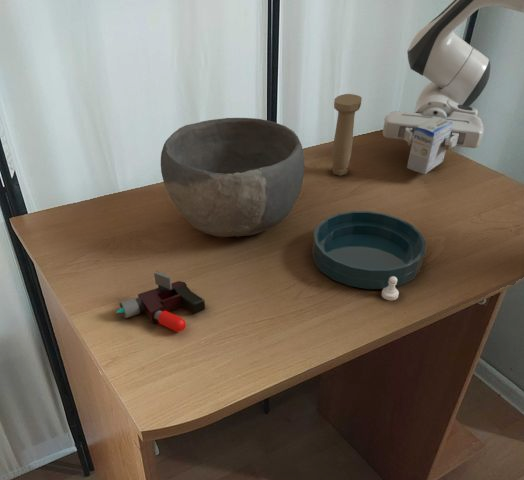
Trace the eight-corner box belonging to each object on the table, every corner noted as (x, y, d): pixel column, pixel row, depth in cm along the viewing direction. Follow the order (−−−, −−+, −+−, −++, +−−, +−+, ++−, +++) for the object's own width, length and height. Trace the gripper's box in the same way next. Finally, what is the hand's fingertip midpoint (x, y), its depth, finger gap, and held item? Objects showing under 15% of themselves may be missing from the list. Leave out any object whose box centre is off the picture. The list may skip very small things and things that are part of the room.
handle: (355, 170, 115) (366, 96, 105) (343, 181, 111) (352, 106, 101) (335, 164, 117) (343, 92, 107) (322, 176, 113) (329, 101, 103)
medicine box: (424, 156, 115) (434, 115, 110) (443, 162, 113) (454, 121, 107) (406, 168, 111) (414, 126, 105) (425, 175, 109) (435, 132, 103)
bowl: (173, 265, 88) (162, 179, 78) (163, 196, 106) (154, 118, 95) (316, 251, 92) (324, 167, 82) (284, 186, 109) (288, 110, 99)
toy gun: (113, 312, 79) (106, 286, 76) (186, 288, 84) (183, 262, 81) (137, 351, 73) (131, 325, 70) (215, 323, 78) (213, 296, 75)
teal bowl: (423, 240, 95) (429, 219, 93) (416, 300, 83) (422, 279, 80) (323, 224, 99) (325, 204, 96) (301, 280, 86) (303, 259, 83)
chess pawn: (389, 302, 82) (393, 284, 80) (377, 294, 84) (381, 276, 81) (401, 297, 83) (405, 278, 81) (389, 288, 85) (393, 270, 82)
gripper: (388, 99, 118) (380, 122, 108) (485, 109, 114) (486, 134, 104) (383, 128, 122) (376, 152, 112) (476, 139, 118) (477, 165, 108)
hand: (430, 143), depth 108 cm, fingers closed on medicine box, 6 cm apart
